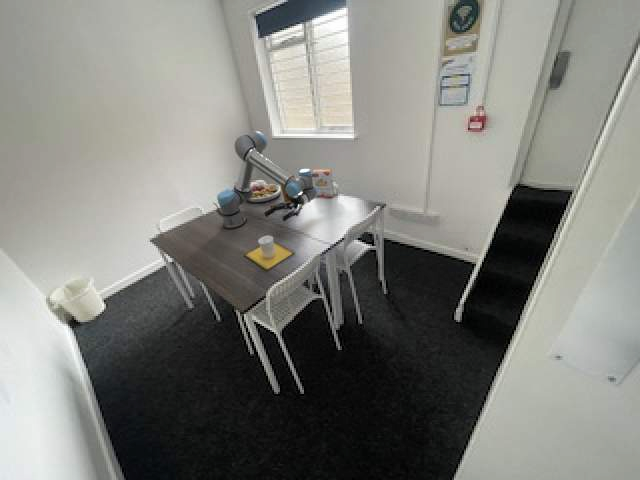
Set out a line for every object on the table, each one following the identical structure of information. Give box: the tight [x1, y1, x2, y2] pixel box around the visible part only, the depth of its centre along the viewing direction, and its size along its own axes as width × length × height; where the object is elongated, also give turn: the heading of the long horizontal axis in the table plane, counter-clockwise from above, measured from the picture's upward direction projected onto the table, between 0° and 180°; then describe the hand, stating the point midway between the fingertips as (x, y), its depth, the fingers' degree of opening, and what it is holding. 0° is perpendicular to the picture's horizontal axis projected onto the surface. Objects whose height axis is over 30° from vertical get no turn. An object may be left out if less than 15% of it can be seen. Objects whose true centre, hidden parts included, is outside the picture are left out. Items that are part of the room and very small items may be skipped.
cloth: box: [244, 242, 294, 271], centre depth 146 cm, size 22×18×1 cm
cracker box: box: [311, 169, 335, 199], centre depth 199 cm, size 14×6×21 cm, turn 68°
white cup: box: [257, 235, 276, 258], centre depth 143 cm, size 8×8×10 cm
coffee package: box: [280, 175, 295, 202], centre depth 197 cm, size 10×12×22 cm
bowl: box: [248, 184, 282, 203], centre depth 221 cm, size 30×30×8 cm
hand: (274, 216), depth 141 cm, fingers open, 13 cm apart
